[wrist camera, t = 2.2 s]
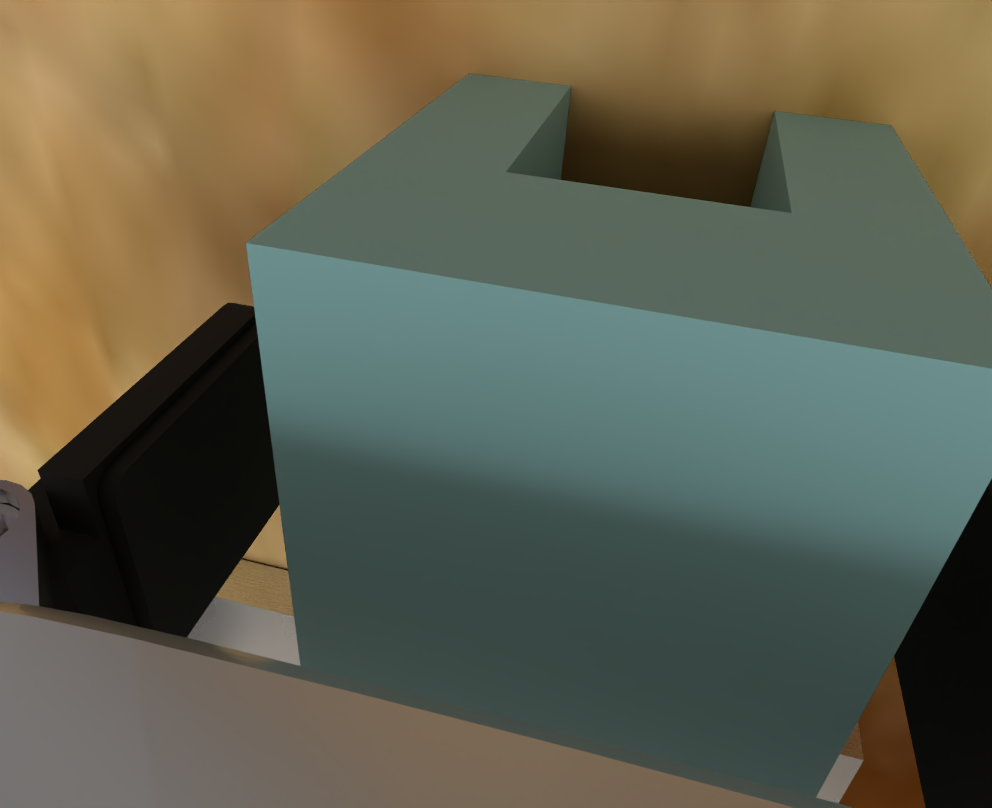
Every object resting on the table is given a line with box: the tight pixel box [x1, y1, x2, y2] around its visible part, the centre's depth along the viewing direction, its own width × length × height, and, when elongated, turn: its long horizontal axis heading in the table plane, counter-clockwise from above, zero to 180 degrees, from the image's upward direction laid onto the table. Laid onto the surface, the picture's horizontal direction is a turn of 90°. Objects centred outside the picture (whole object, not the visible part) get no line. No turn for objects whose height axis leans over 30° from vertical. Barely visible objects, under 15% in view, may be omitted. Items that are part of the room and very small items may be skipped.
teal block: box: [246, 74, 992, 798], centre depth 11 cm, size 6×9×6 cm, turn 176°
